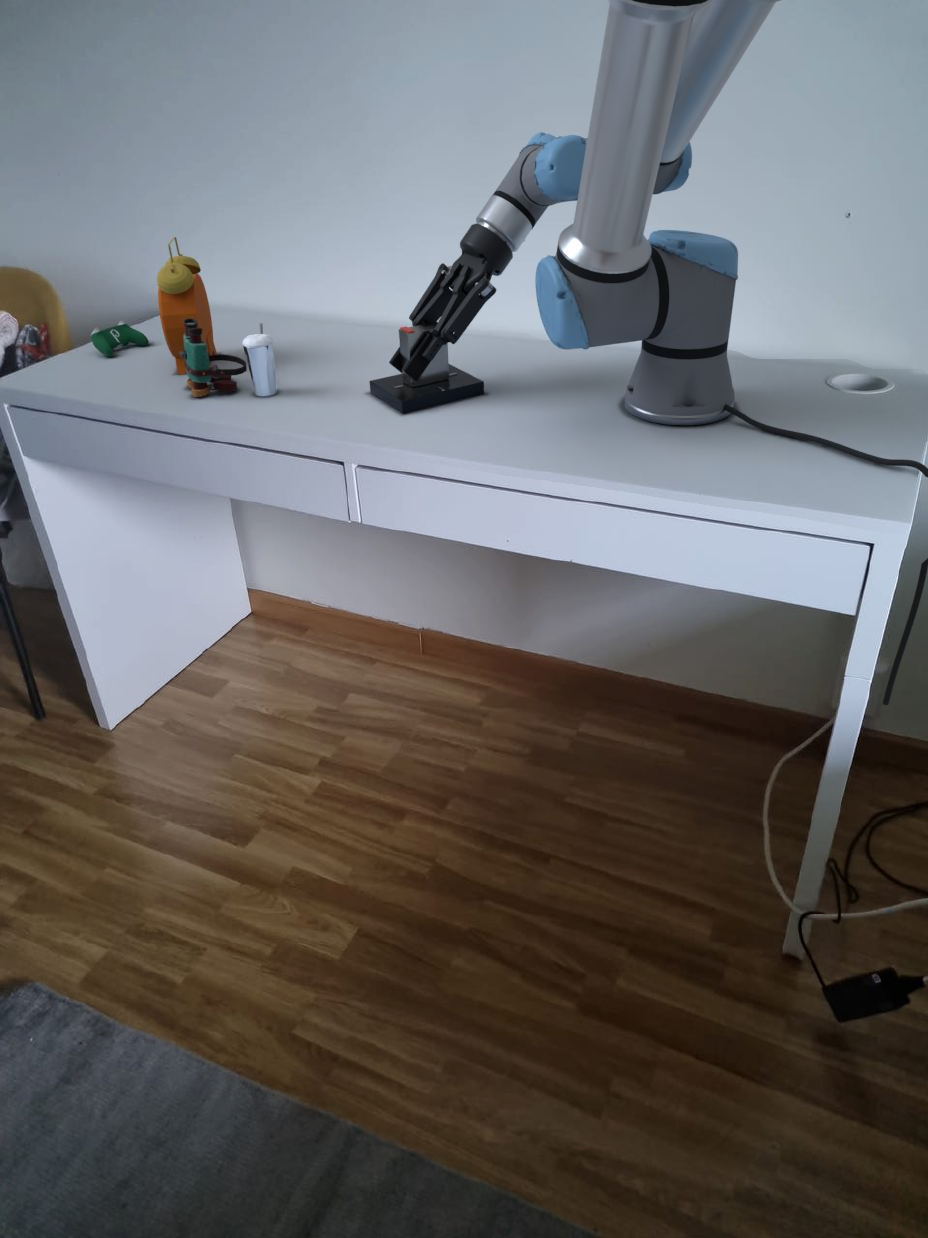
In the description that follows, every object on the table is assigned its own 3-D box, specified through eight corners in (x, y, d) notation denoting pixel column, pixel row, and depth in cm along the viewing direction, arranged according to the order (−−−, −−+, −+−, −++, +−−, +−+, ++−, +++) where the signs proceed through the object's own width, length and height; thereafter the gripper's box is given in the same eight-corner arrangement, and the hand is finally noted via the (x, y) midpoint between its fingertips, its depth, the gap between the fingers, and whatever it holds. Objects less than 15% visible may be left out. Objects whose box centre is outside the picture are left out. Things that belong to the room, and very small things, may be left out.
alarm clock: (184, 353, 159) (158, 233, 148) (219, 350, 159) (196, 231, 148) (172, 377, 148) (143, 250, 137) (209, 374, 148) (184, 247, 137)
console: (448, 375, 144) (448, 361, 142) (484, 394, 135) (484, 380, 134) (370, 393, 138) (369, 379, 137) (402, 414, 130) (401, 399, 129)
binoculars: (247, 328, 136) (180, 330, 132) (252, 396, 141) (187, 400, 138) (236, 314, 143) (171, 316, 139) (241, 379, 148) (179, 383, 144)
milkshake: (285, 386, 142) (275, 322, 137) (276, 398, 138) (265, 332, 132) (257, 386, 143) (246, 323, 137) (247, 398, 138) (236, 333, 133)
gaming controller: (145, 352, 166) (125, 327, 166) (151, 340, 164) (131, 313, 163) (103, 366, 160) (83, 340, 160) (108, 353, 157) (87, 326, 157)
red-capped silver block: (439, 373, 138) (436, 319, 133) (449, 378, 136) (446, 324, 131) (402, 382, 135) (398, 327, 131) (411, 387, 133) (407, 332, 129)
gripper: (541, 264, 127) (446, 401, 129) (480, 245, 139) (394, 371, 141) (510, 229, 122) (411, 372, 124) (449, 213, 134) (360, 344, 136)
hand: (402, 371), depth 133 cm, fingers open, 4 cm apart
